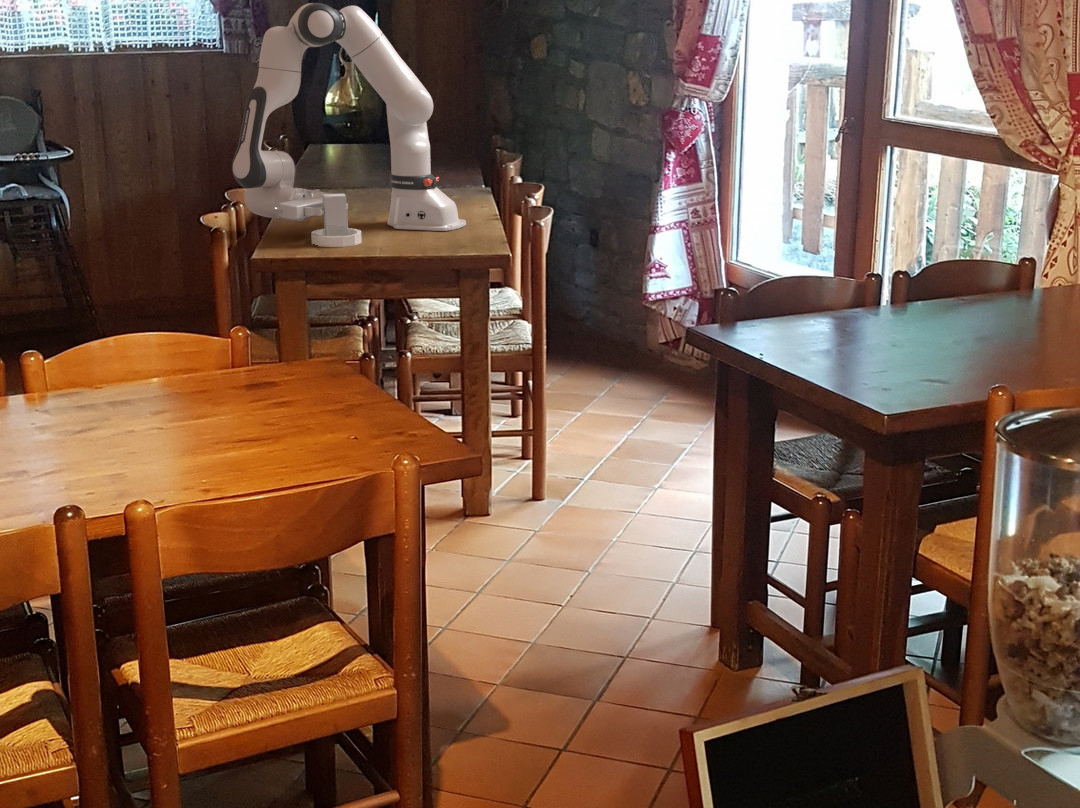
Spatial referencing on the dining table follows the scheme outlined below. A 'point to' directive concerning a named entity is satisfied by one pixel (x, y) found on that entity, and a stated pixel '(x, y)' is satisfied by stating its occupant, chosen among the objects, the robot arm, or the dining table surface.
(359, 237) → the ring dish
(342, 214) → the skincare box
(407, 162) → the robot arm
